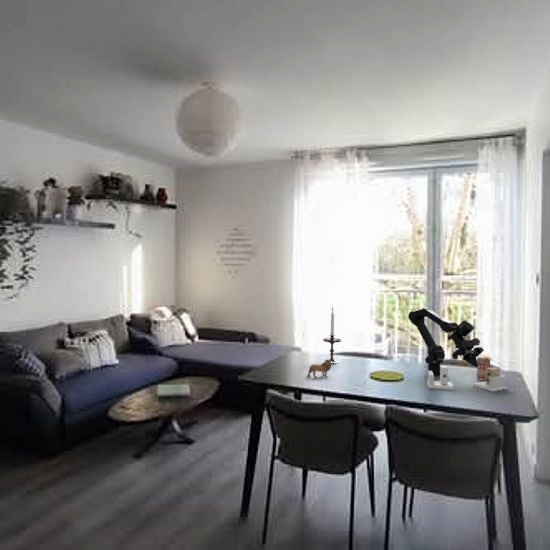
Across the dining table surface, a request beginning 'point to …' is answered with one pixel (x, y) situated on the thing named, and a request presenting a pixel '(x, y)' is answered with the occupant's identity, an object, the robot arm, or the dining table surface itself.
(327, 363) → the lion figurine
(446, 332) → the robot arm
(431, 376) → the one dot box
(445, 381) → the one dot key
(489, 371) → the two dot key
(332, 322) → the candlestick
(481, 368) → the stack of blocks
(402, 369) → the dining table surface
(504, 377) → the white l-shaped holder
